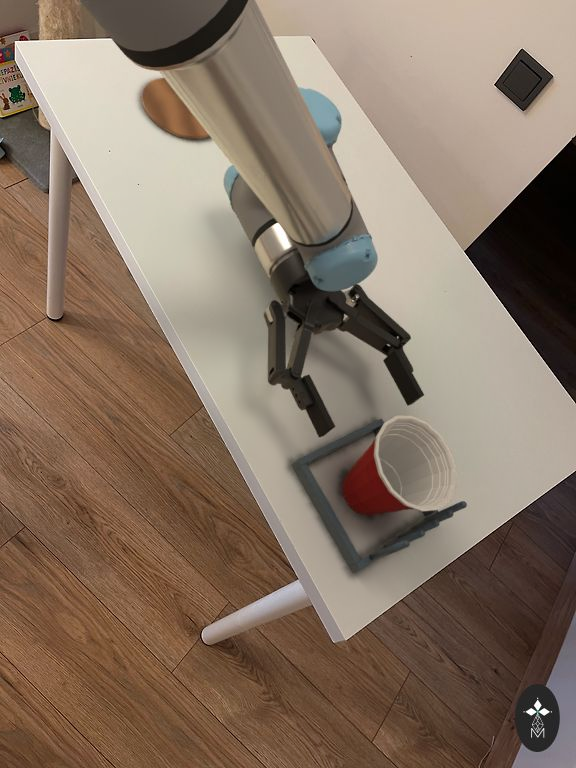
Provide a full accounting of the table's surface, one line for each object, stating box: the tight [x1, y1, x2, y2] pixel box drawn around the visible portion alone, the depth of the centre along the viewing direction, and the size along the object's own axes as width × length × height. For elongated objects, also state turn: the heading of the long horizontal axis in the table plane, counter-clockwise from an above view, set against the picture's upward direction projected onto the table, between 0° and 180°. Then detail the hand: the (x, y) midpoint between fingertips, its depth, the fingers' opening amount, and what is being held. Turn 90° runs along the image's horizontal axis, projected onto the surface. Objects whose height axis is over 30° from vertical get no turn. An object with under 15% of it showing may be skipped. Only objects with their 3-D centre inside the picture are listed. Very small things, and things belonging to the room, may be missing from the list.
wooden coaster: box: [141, 77, 210, 140], centre depth 91 cm, size 12×12×1 cm
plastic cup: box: [342, 415, 457, 516], centre depth 68 cm, size 11×11×12 cm
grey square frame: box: [291, 418, 468, 573], centre depth 70 cm, size 14×14×9 cm
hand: (374, 415), depth 68 cm, fingers open, 13 cm apart
